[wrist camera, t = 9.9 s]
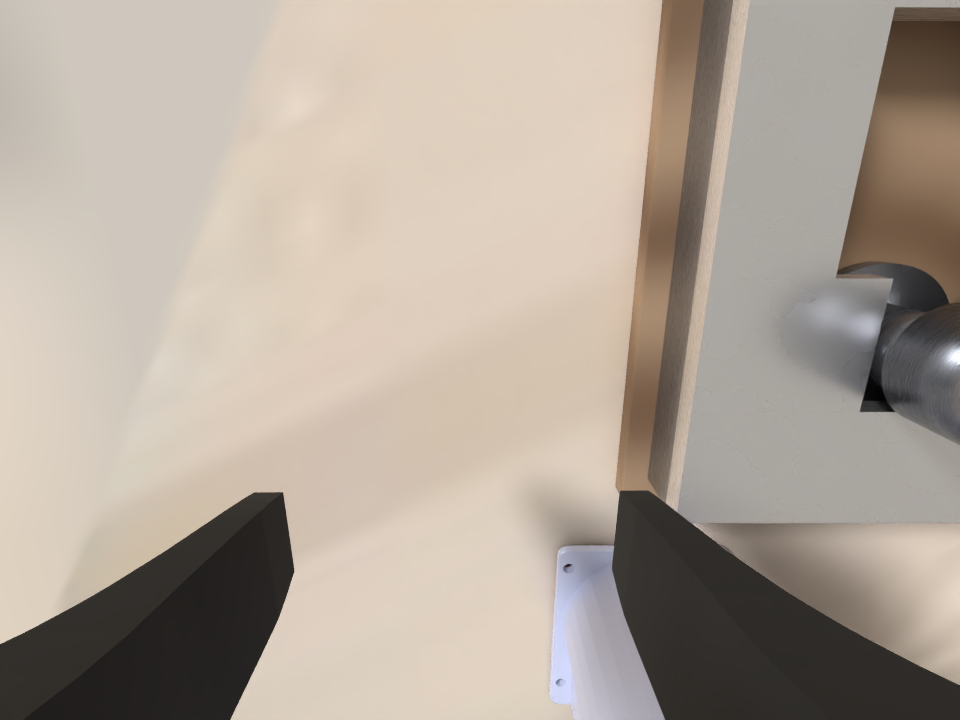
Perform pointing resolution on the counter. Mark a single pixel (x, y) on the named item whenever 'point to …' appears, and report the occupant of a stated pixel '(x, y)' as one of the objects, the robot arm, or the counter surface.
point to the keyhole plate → (785, 283)
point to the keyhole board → (875, 208)
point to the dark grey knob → (916, 350)
